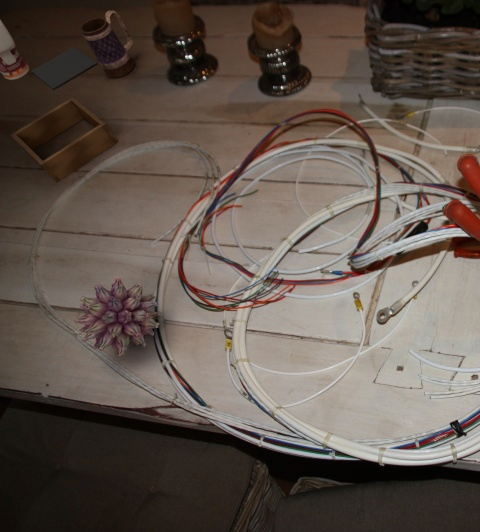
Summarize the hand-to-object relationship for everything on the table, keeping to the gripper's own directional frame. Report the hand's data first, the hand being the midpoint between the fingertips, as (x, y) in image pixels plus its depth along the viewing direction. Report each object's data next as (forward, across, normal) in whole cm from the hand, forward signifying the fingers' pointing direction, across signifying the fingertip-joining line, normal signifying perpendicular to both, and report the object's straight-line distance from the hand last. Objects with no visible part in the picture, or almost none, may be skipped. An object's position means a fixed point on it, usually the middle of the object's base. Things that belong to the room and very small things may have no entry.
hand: (4, 56), depth 102 cm
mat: (+20, -26, +12) cm, 35 cm away
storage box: (+20, +3, -1) cm, 21 cm away
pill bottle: (+4, 0, 0) cm, 4 cm away
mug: (+20, -13, +22) cm, 33 cm away
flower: (+20, +55, -16) cm, 61 cm away
